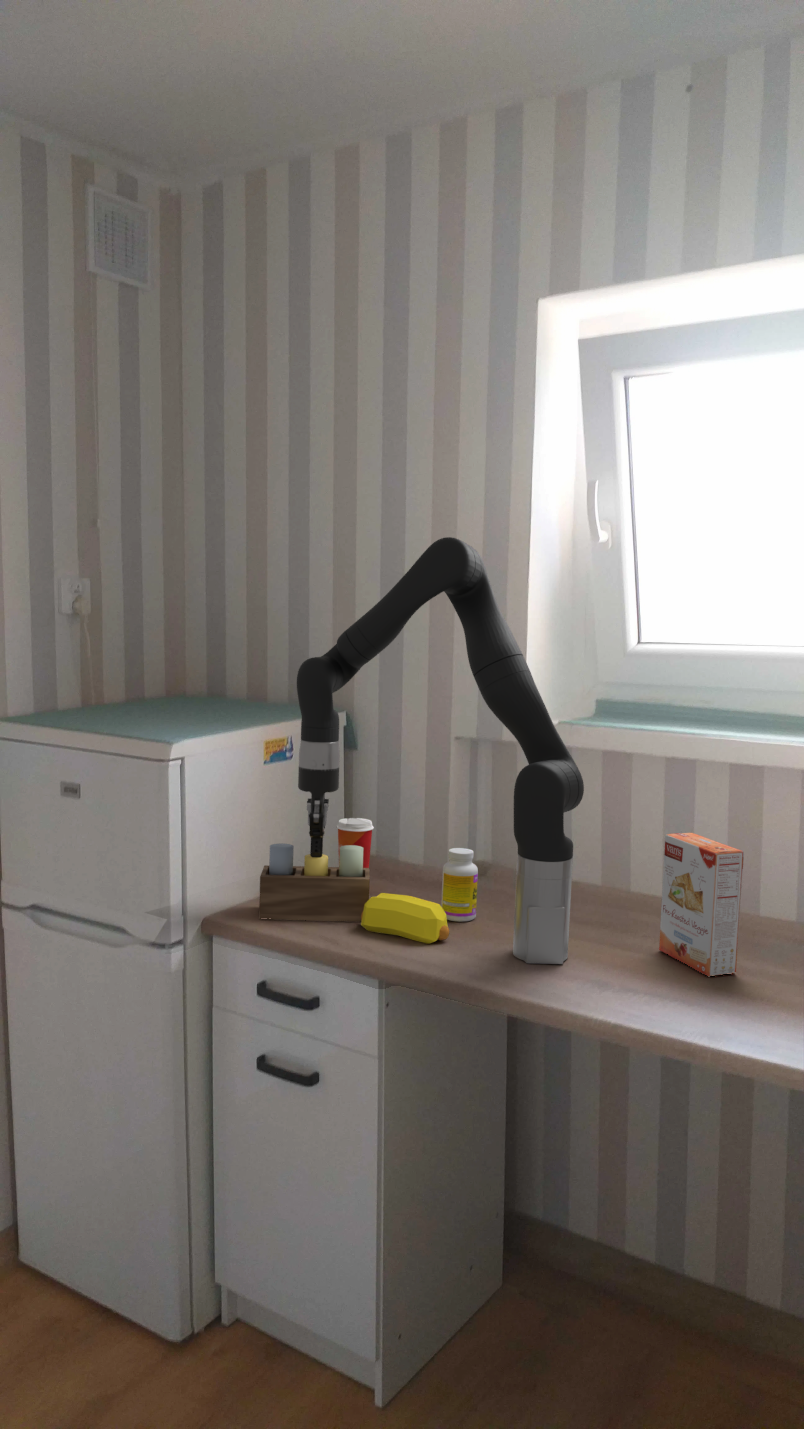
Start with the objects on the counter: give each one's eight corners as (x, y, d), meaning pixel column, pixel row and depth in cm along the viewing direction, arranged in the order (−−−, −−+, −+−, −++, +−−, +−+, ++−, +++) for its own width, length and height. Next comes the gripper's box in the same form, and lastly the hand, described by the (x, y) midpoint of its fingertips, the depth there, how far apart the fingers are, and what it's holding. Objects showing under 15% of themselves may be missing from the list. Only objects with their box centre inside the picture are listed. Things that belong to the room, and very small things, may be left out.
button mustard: (326, 891, 195) (327, 859, 194) (303, 890, 195) (303, 859, 194) (327, 885, 199) (328, 854, 199) (304, 884, 199) (305, 853, 198)
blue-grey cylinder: (291, 881, 194) (292, 849, 194) (268, 880, 194) (268, 848, 194) (293, 875, 199) (294, 843, 198) (270, 874, 199) (270, 843, 198)
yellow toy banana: (438, 949, 180) (458, 938, 186) (439, 911, 179) (460, 901, 186) (350, 930, 189) (372, 920, 195) (351, 894, 188) (373, 885, 195)
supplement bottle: (476, 923, 195) (479, 855, 194) (441, 922, 195) (443, 854, 194) (475, 913, 202) (477, 847, 200) (440, 911, 202) (443, 845, 200)
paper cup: (330, 883, 219) (332, 817, 218) (366, 882, 221) (368, 816, 220) (339, 894, 212) (341, 825, 210) (376, 892, 214) (378, 824, 213)
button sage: (362, 882, 195) (363, 850, 194) (338, 882, 195) (339, 850, 194) (362, 876, 199) (363, 845, 199) (339, 876, 199) (340, 844, 198)
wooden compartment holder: (368, 921, 194) (369, 879, 193) (259, 919, 193) (260, 876, 192) (368, 908, 202) (369, 868, 201) (263, 906, 201) (264, 865, 200)
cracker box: (656, 951, 182) (663, 832, 180) (685, 948, 185) (692, 831, 182) (706, 978, 169) (714, 851, 167) (737, 975, 172) (746, 849, 169)
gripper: (338, 770, 188) (335, 865, 190) (340, 759, 201) (337, 848, 203) (296, 769, 188) (293, 864, 190) (300, 758, 201) (298, 847, 203)
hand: (316, 856), depth 196 cm, fingers closed
